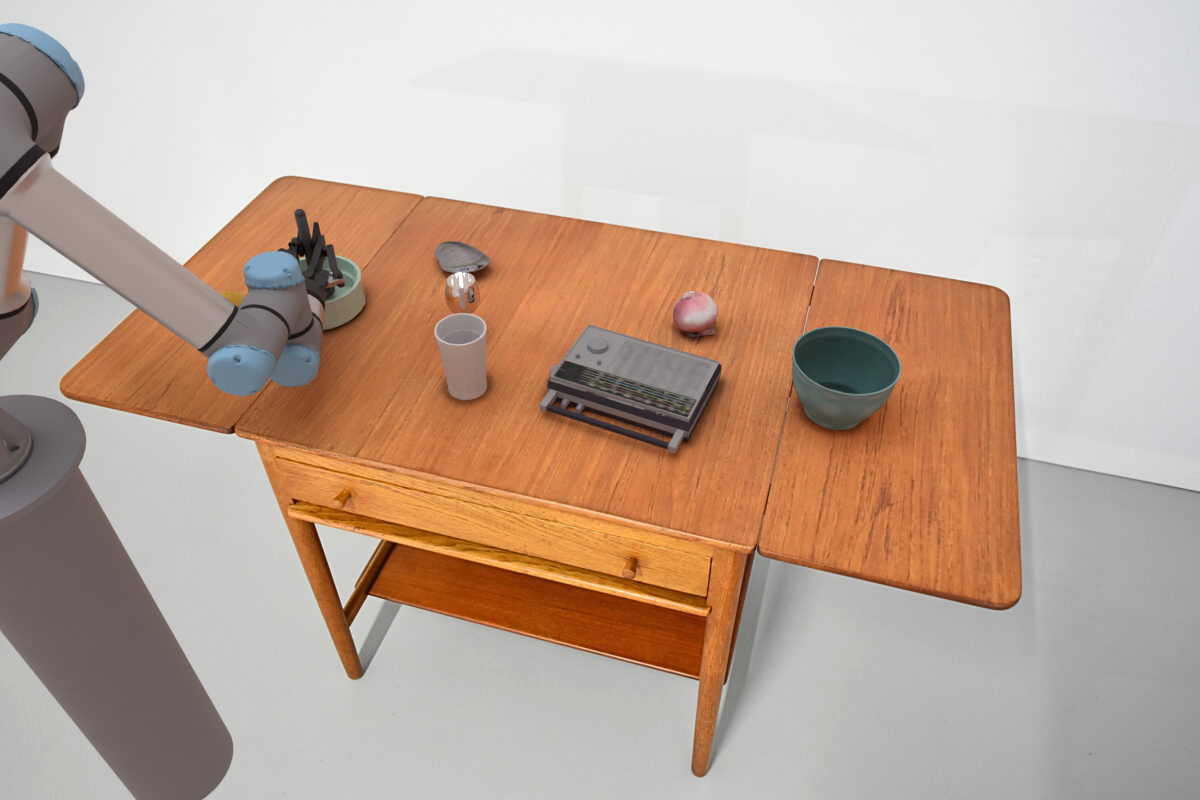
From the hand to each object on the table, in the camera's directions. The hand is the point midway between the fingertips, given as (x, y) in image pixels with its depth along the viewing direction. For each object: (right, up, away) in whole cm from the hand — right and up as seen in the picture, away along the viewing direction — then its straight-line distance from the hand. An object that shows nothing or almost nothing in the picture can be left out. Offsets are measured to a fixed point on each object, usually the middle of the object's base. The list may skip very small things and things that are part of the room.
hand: (310, 229), depth 158 cm
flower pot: (+88, -32, -15) cm, 95 cm away
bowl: (+1, -13, +3) cm, 14 cm away
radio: (+56, -30, -14) cm, 65 cm away
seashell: (+25, -5, +12) cm, 28 cm away
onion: (+68, -18, -1) cm, 70 cm away
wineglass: (+28, -19, -3) cm, 34 cm away
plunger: (+1, -11, +3) cm, 11 cm away
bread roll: (-16, -15, +1) cm, 22 cm away
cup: (+30, -28, -12) cm, 43 cm away
